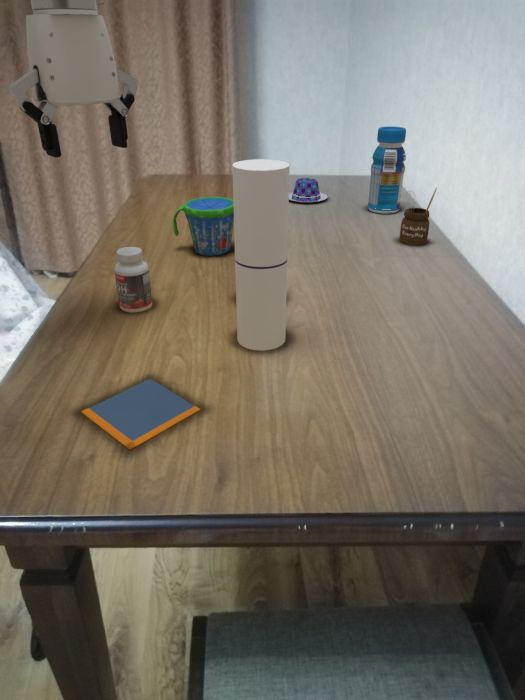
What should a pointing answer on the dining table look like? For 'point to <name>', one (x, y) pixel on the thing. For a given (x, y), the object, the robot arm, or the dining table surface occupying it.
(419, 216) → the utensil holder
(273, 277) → the cylindrical container
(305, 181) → the purple patterned hat
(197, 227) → the snack cup
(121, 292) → the pill bottle
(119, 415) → the corner pad
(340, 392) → the dining table surface
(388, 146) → the beverage bottle
